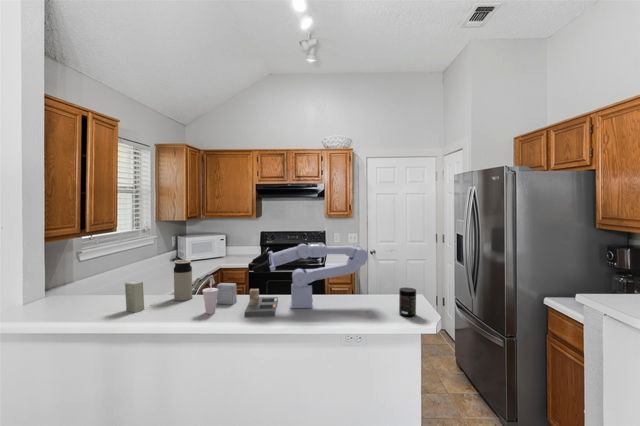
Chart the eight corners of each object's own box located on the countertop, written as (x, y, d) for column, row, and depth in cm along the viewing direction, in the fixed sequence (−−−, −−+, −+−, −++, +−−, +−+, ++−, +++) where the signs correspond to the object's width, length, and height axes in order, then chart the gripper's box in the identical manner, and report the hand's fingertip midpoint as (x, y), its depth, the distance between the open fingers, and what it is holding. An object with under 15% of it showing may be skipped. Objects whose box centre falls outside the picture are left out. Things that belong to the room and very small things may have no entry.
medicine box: (236, 301, 160) (236, 283, 159) (233, 304, 155) (233, 285, 155) (220, 301, 160) (220, 282, 160) (216, 304, 156) (216, 285, 156)
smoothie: (221, 310, 147) (221, 278, 146) (212, 315, 141) (211, 281, 140) (209, 309, 149) (208, 277, 148) (199, 314, 143) (198, 280, 142)
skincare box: (144, 309, 148) (144, 281, 148) (135, 312, 144) (134, 284, 144) (134, 307, 151) (133, 280, 151) (125, 310, 147) (124, 282, 146)
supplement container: (417, 313, 143) (418, 288, 142) (413, 318, 137) (414, 292, 136) (401, 311, 146) (401, 286, 146) (397, 316, 140) (397, 290, 140)
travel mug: (183, 301, 159) (183, 263, 159) (170, 300, 162) (169, 261, 162) (196, 297, 167) (195, 260, 166) (183, 295, 170) (182, 259, 169)
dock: (277, 301, 160) (277, 296, 160) (274, 316, 140) (274, 310, 140) (251, 301, 160) (251, 296, 159) (244, 316, 140) (244, 311, 139)
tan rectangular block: (258, 302, 152) (258, 288, 152) (257, 304, 148) (257, 290, 148) (250, 302, 152) (250, 288, 151) (249, 304, 148) (249, 291, 148)
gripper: (279, 242, 157) (250, 251, 156) (282, 256, 144) (250, 266, 143) (283, 255, 160) (255, 264, 159) (286, 270, 147) (255, 280, 145)
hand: (253, 266), depth 151 cm, fingers open, 7 cm apart
